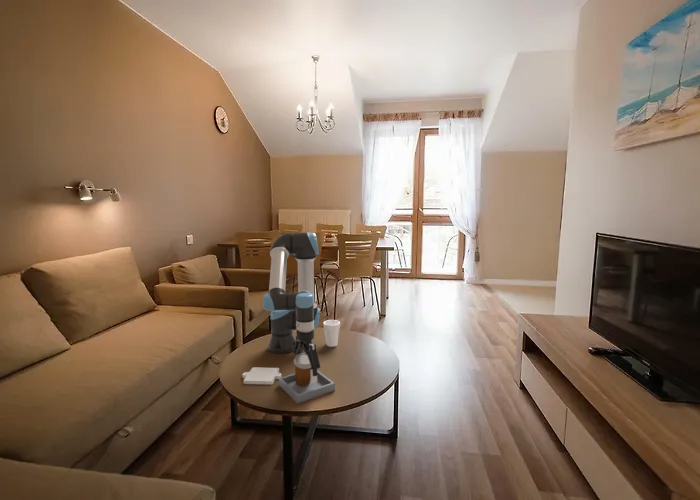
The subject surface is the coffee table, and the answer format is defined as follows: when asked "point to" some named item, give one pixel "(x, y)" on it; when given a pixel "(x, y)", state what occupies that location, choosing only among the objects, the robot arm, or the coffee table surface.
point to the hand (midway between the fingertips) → (306, 376)
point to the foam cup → (331, 332)
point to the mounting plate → (261, 375)
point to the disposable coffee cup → (302, 369)
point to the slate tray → (306, 387)
